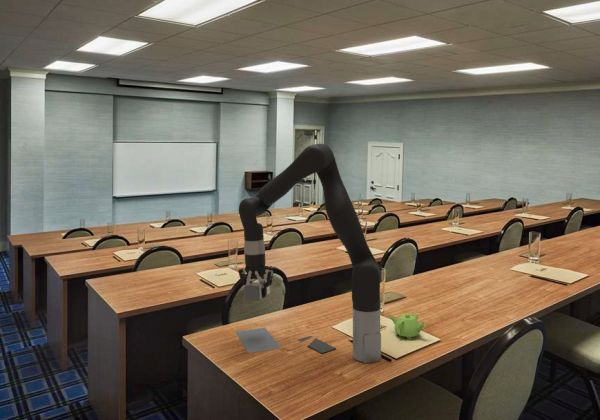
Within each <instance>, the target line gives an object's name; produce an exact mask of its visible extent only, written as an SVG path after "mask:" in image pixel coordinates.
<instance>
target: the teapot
mask: <svg viewBox="0 0 600 420" xmlns="http://www.w3.org/2000/svg"><path fill="white" fill-rule="evenodd" d="M389 318H390V320H391V321H392V322H393V324H394V328H393V329H394V332H395V333H396V334H397V336H398V335H399V336H402V337H405V338H406V339H407V338H408V339H407V340H412V339H411V338H413V337H418V335H419V334H420V333H421V330H422V329H423V328H424V327H425V326H426V325H427V324H426V323H425V322H424V321H422V322H421V323H419V321H418V319H419V315H418V314H416V313H415V314H414V315H411V314H410V313H404V314H403V315H400V316H399V317H398V318H397V319H396V317H395V315H394V314H392V315H390V316H389Z"/></svg>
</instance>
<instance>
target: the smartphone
mask: <svg viewBox="0 0 600 420" xmlns="http://www.w3.org/2000/svg"><path fill="white" fill-rule="evenodd" d="M312 338H313V336H312V335H309V336H305V337H301V338H298V339H297V341H299V342H301V343H303V342H305V341H307V340H310V339H312ZM307 348H309V349H311V350H313V351H315V352H317V353H318V354H321V355H324V354H328V353H330V352H333V351H336V350H337V347H335V346H333V345H331V344H329V343H326V342H325V341H323V340H320V339H318V338H317V337H315V338H314V339H313V340H312V341H311V342H310V343H309V344H308V345H307Z"/></svg>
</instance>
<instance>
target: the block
mask: <svg viewBox="0 0 600 420" xmlns="http://www.w3.org/2000/svg"><path fill="white" fill-rule="evenodd" d="M270 287H271V285H270V286H269V287H267V296H268V295H270V294H271V288H270ZM261 288H262V287H261V284H260V283H259V281H258V280H257V279H255V280H253V282H252V283H250V284H249V285H247V286H245V285H244V299H245V301H250V302H259V301H260V300H261V299H263V298H262V294H261Z"/></svg>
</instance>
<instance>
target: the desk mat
mask: <svg viewBox="0 0 600 420" xmlns="http://www.w3.org/2000/svg"><path fill="white" fill-rule="evenodd" d="M235 334H236V335H237V337H238V339H239V340H240V342H241V343H242V345H243V347H244V348H245V350H246V351H247V353H248V354H251V353H258V352H264V351H271V350H277V349H282V347H281V345H280V344H279V343H278V342H277V340H276V339H275V338H274V336H273V335H272V334H271V333H270V332H269V331H268V329H267V328H266V327H259V328H251V329H245V330H244V329H243V330H238V331H235Z"/></svg>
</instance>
